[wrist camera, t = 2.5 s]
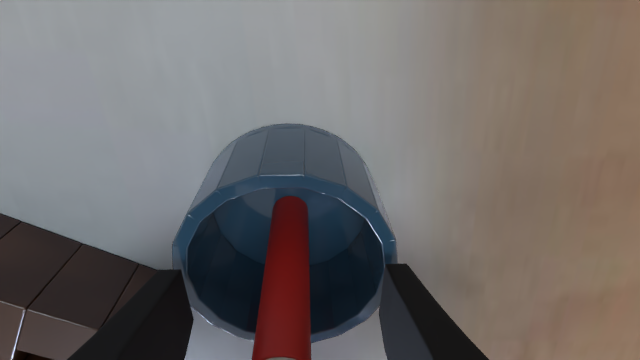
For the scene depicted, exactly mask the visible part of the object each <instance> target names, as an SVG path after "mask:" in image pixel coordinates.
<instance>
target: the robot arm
mask: <svg viewBox="0 0 640 360" xmlns="http://www.w3.org/2000/svg"><path fill="white" fill-rule="evenodd" d="M379 318H380V324H381V330H382V336H383V342H384V348H385V352H386V356H387V359H388V360H489V359H488V358H487V357H486V356H485V355H484V354H483V353H482V352H481V351H480V350H479V349H478V348H477V347H476V345H475V344H474V343H473V342H472V341H471V340H470V339H469V338H468V337H467V336H466V335H465V334H464V333H463V331H462V330H461V329H460V328H459V327H458V326H457V325H456V324H455V322H454V321H453V320H452V319H451V318H450V317H449V316H448V314H447V313H446V312H445V311H444V310H443V309H442V307H441V306H440V305H439V304H438V303H437V301H436V300H435V299H434V298H433V296H432V295H431V294H430V293H429V292H428V290H427V289H426V288H425V287H424V285H423V284H422V283H421V281H420V280H419V279H418V278H417V276H416V275H415V274H414V272H413V271H412V270H411V268H410V267H409V266H408V265H407V264H385V268H384V276H383V285H382V293H381V301H380V309H379ZM192 324H193V316H192V312H191V308H190V304H189V299H188V295H187V291H186V287H185V283H184V279H183V275H182V271H181V269H176V270H159V271H158V272H157V273H156V274H155V275H154V276H152V277H151V278H150V279H149V280H148V281H147V282H146V283H145V284H144V285H143V286H142V287H141V288H140V289H139V290H138V291H137V292H136V294H135V295H134V296H133V297H132V298H131V299H130V300H129V301H128V302H127V303H126V304H125V305H124V306H123V307H122V308H121V309H120V310H119V311H118V312H117V313H116V314H115V315H114V316H113V317H111V318H110V319H109V320H108V321H107V322H106V323H105V324H104V325H103V326H102V327H101V328H100V329H99V330H98V331H97V332H96V333H95V334H94V335H93V336H92V337H91V338H90V339H89V340H88V341H87V342H86V343H84V344H83V345H82V346H81V347H80V348H79V349H78V350H77V351H76V352H75V353H73V354H72V355H71V356H70V357H69V358H68V359H67V360H184V358H185V355H186V351H187V347H188V343H189V338H190V334H191V329H192Z"/></svg>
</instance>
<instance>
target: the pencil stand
mask: <svg viewBox="0 0 640 360" xmlns="http://www.w3.org/2000/svg"><path fill="white" fill-rule="evenodd" d="M157 272H158V271H157V270H154V269H151V268H149V267H146V266H143V265H139V264H138V263H135V262H132V261H129V260H126V259H124V258H121V257H118V256H115V255H112V254H110V253H107V252H104V251H101V250H99V249H96V248H93V247H90V246H87V245H85V244H83V245H82V244H81V243H79V242H76V241H73V240H70V239H67V238H65V237H62V236H59V235H56V234H53V233H51V232H48V231H45V230H42V229H40V228H37V227H34V226H31V225H28V224H26V223H22V222H21V223H20V221H18V220H15V219H13V218H10V217H7V216H4V215H2V214H0V360H67V359H68V358H69V357H70V356H71V355H72V354H73V353H75V352H76V351H77V350H78V349H79V348H80V347H81V346H82V345H83V344H84V343H86V342H87V341H88V340H89V339H90V338H91V337H92V336H93V335H94V334H95V333H96V332H97V331H98V330H99V329H100V328H101V327H102V326H103V325H104V324H105V323H106V322H107V321H108V320H109V319H110V318H111V317H113V316H114V315H115V314H116V313H117V312H118V311H119V310H120V309H121V308H122V307H123V306H124V305H125V304H126V303H127V302H128V301H129V300H130V299H131V298H132V297H133V296H134V295H135V294H136V292H137V291H138V290H139V289H140V288H141V287H142V286H143V285H144V284H145V283H146V282H147V281H148V280H149V279H150V278H151V277H152V276H154V275H155V274H156V273H157Z"/></svg>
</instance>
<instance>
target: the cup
mask: <svg viewBox="0 0 640 360" xmlns="http://www.w3.org/2000/svg"><path fill="white" fill-rule="evenodd" d="M285 196H295V197H298V198H300V199H302V200H303V201H304V202H305V203H306V205H307V207H308V224H309V275H310V325H311V343H313V342H317V341H321V340H324V339H328V338H332V337H335V336H339V334H340V335H341V334H343V333H345V332H346V331H348V330H350V329H352V328H353V327H355V326H357V325H358V324H360V323H362V322H364V321H365V320H367V319H368V318H369V317H370V316H371V315H372V314H373V313H374V312H375V310H376V309H377V308H378V307H379V306H380V301H381V293H382V285H383V276H384V268H385V264H398V259H397V247H396V239H395V236H394V233H393V230H392V228H391V225H390V222H389V219H388V217H387V214H386V211H385V208H384V206H383V203H382V200H381V198H380V195H379V192H378V189H377V187H376V184H375V182H374V180H373V178H372V176H371V174H370V172H369V170H368V167H367V165H366V164H365V162H364V161H363V159H362V158H361V156H360V155H359V154H358V153H357V152H356V151H355V150H354V149H353V148H352V147H351V146H350V145H348V144H347V143H346V142H345V141H343V140H342V139H340V138H339V137H337V136H335V135H333V134H331V133H329V132H327V131H325V130H322V129H319V128H315V127H312V126H307V125H301V124H276V125H271V126H266V127H262V128H259V129H256V130H253V131H250V132H248V133H246V134H244V135H242V136H240V137H239V138H237V139H236V140H235V141H233V142H232V143H230V144H229V145H228V146H227V147H226V148H225V149H224V150H223V151H222V152H221V153H220V155H219V156H218V157H217V158H216V159H215V161H214V162H213V164H212V166H211V168H210V170H209V171H208V173H207V175H206V177H205V179H204V181H203V183H202V185H201V187H200V189H199V191H198V193H197V194H196V196H195V198H194V200H193V202H192V204H191V206H190V208H189V210H188V212H187V214H186V216H185V218H184V220H183V222H182V224H181V226H180V228H179V230H178V232H177V234H176V236H175V239H174V241H173V244H172V260H173V270H176V269H181V271H182V275H183V279H184V283H185V287H186V291H187V295H188V299H189V304H190V306H191V307H192V308H193V309H194V310H195V311H197V312H198V313H199V314H200V315H201V316H202V317H203V318H204V319H205V320H206V321H208V322H209V323H210V324H212V325H213V326H215V327H217V328H220V329H222V330H224V331H226V332H228V333H230V334H232V335H234V336H236V337H238V338H242V339H246V340H251V341H254V340H255V333H256V326H257V319H258V312H259V304H260V297H261V290H262V283H263V276H264V269H265V262H266V255H267V247H268V240H269V233H270V226H271V219H272V212H273V207H274V204H275V203H276V202H277V201H278V200H279V199H281V198H283V197H285Z"/></svg>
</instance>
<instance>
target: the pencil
mask: <svg viewBox="0 0 640 360" xmlns="http://www.w3.org/2000/svg"><path fill="white" fill-rule="evenodd" d="M252 360H311V325H310V275H309V224H308V207H307V205H306V203H305V202H304V201H303V200H302V199H300V198H298V197H295V196H285V197H283V198H281V199H279V200H278V201H277V202H276V203H275V204H274V207H273V212H272V219H271V226H270V233H269V240H268V247H267V255H266V262H265V269H264V276H263V283H262V290H261V297H260V304H259V312H258V319H257V326H256V333H255V340H254V347H253V354H252Z"/></svg>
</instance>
